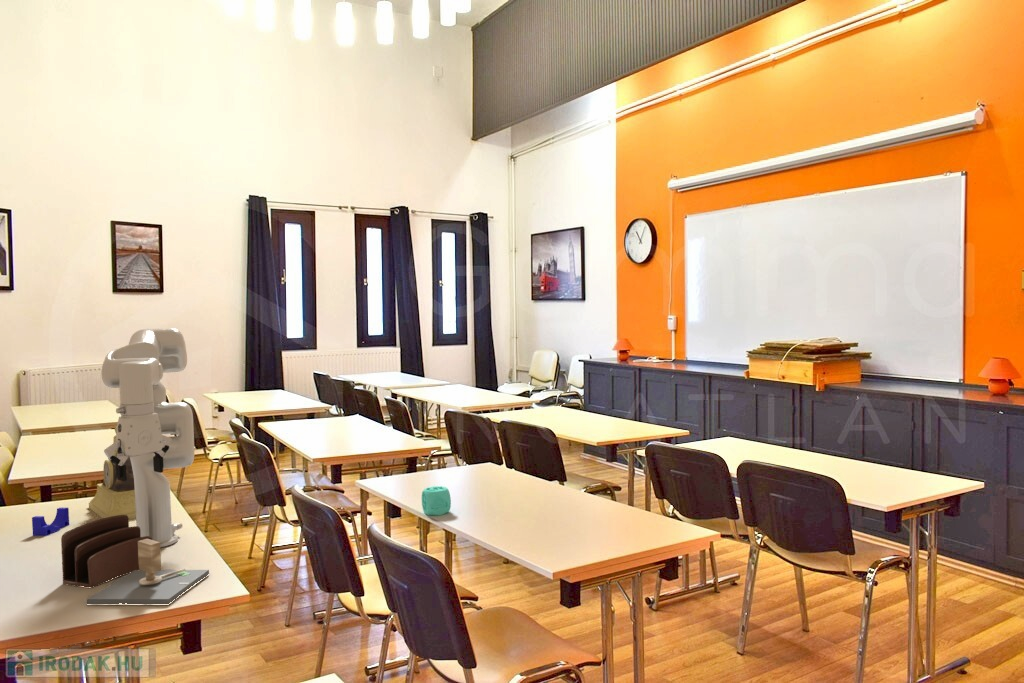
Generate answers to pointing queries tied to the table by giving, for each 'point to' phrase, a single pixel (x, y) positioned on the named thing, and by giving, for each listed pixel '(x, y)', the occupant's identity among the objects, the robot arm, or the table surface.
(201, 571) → the dial board
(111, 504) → the decorative clock
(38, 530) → the cable clip
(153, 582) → the tuning knob
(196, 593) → the table surface
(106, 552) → the letter holder
